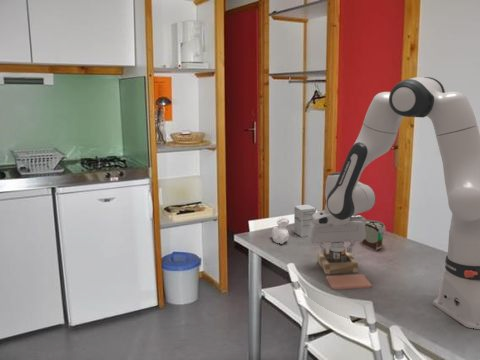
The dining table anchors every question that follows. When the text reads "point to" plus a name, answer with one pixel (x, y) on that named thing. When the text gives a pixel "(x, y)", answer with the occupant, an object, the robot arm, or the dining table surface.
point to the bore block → (338, 264)
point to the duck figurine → (280, 231)
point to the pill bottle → (337, 252)
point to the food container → (374, 234)
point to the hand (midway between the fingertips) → (336, 252)
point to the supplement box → (303, 219)
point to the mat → (348, 281)
